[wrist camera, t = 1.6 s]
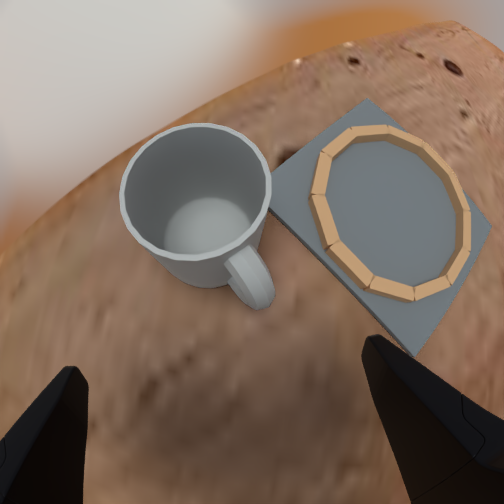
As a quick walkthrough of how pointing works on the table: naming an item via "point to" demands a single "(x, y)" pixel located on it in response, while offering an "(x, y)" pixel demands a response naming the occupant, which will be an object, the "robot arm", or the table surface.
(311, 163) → the collar mat
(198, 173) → the cup
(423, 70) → the table surface
